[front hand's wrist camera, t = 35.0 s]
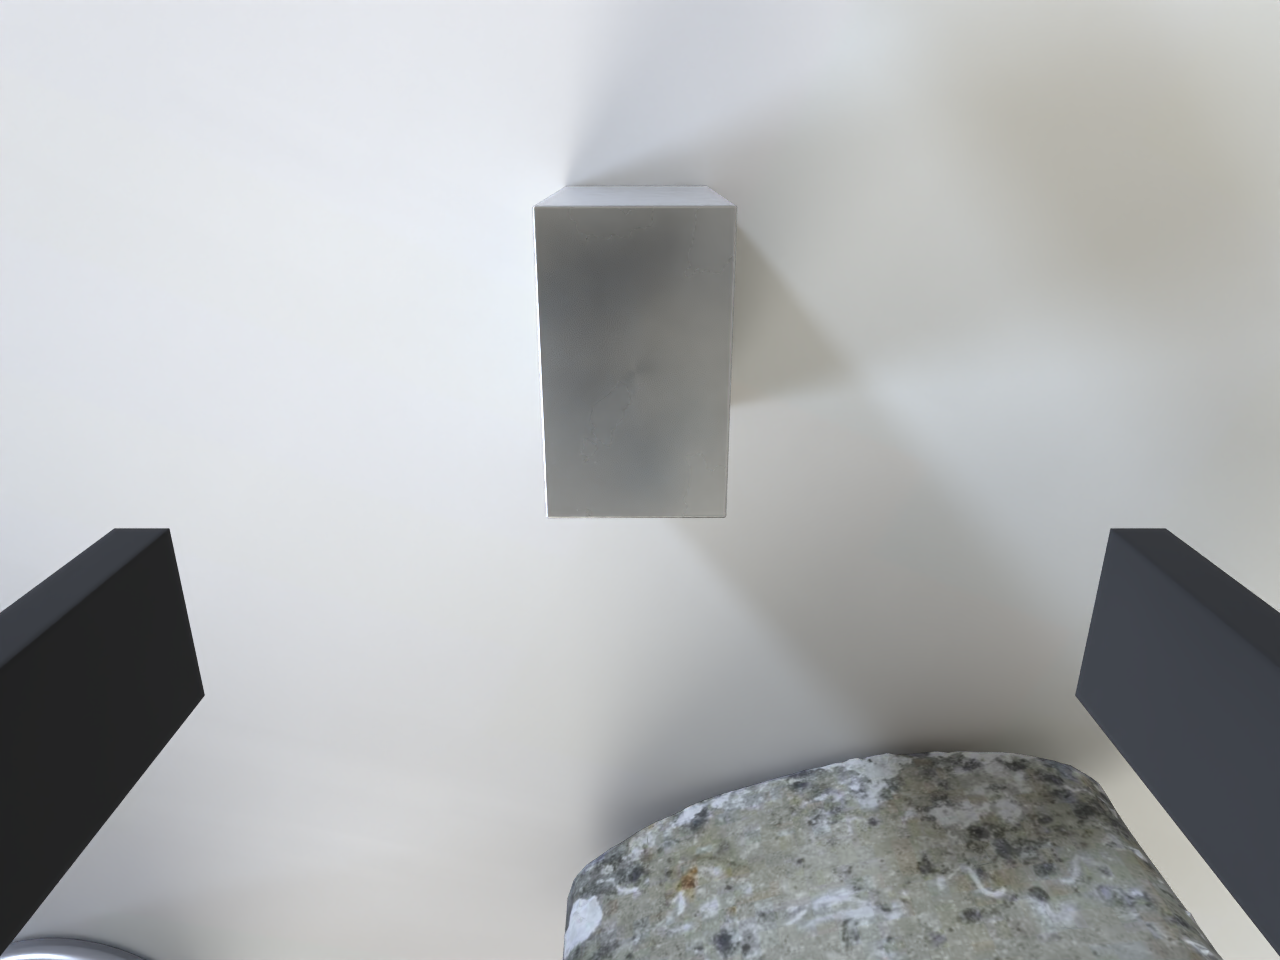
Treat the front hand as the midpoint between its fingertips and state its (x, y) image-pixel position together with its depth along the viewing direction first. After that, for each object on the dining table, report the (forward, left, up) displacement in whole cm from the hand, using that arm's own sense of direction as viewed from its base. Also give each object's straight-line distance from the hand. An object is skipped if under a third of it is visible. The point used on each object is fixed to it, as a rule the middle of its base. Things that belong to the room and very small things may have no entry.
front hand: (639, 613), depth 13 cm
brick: (0, 0, -25) cm, 25 cm away
